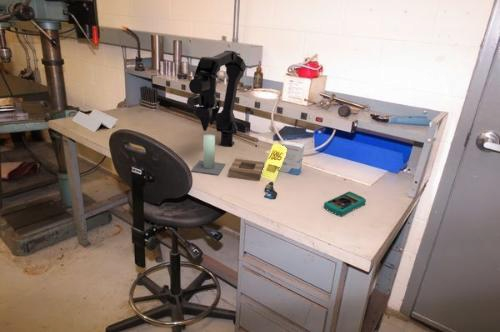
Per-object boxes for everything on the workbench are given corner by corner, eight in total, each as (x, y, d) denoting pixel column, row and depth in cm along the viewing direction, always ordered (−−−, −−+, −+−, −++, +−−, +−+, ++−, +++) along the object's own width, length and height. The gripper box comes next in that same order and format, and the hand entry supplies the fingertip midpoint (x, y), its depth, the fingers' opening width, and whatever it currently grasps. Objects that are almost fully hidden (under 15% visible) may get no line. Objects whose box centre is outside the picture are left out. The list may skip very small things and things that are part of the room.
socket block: (235, 165, 142) (235, 158, 141) (263, 168, 141) (264, 162, 139) (228, 176, 131) (228, 169, 130) (259, 181, 130) (260, 173, 129)
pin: (208, 163, 140) (209, 133, 135) (216, 167, 138) (217, 136, 133) (200, 166, 137) (201, 135, 132) (208, 170, 135) (209, 138, 130)
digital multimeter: (321, 209, 114) (323, 201, 113) (347, 196, 124) (349, 189, 122) (340, 218, 109) (341, 210, 108) (365, 205, 119) (367, 197, 118)
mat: (199, 161, 143) (199, 160, 143) (225, 164, 142) (225, 163, 142) (190, 171, 133) (190, 170, 133) (218, 175, 132) (218, 174, 132)
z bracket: (103, 138, 174) (94, 132, 169) (81, 126, 188) (71, 120, 183) (118, 119, 176) (108, 112, 171) (94, 109, 191) (85, 102, 186)
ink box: (301, 171, 141) (305, 144, 136) (297, 175, 137) (301, 147, 132) (282, 166, 144) (284, 139, 140) (277, 170, 140) (280, 143, 135)
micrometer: (275, 196, 117) (261, 194, 118) (274, 201, 117) (260, 199, 118) (281, 181, 127) (268, 179, 128) (281, 186, 128) (268, 184, 129)
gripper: (196, 84, 147) (196, 119, 154) (181, 92, 130) (181, 131, 137) (222, 86, 146) (220, 122, 152) (209, 95, 129) (208, 135, 135)
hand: (208, 127), depth 144 cm, fingers open, 9 cm apart
